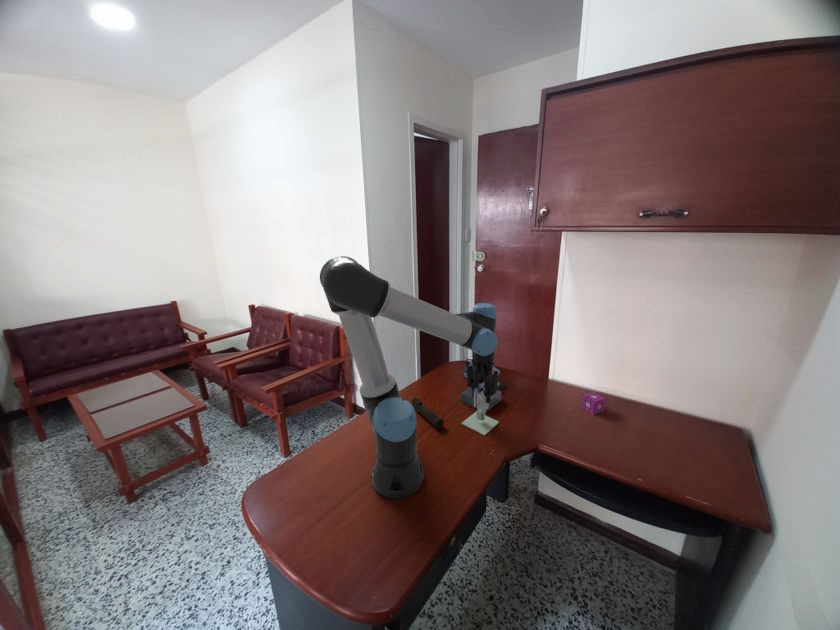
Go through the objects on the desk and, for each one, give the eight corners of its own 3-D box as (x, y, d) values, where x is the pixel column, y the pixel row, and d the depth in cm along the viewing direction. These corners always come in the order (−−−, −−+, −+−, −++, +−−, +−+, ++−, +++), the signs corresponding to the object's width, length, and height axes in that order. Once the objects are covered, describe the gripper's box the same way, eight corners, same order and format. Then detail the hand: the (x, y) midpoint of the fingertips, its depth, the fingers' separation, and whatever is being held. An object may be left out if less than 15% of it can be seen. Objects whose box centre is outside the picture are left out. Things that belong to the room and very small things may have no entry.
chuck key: (479, 423, 111) (480, 390, 107) (471, 420, 113) (472, 387, 109) (489, 415, 116) (491, 382, 112) (482, 411, 118) (483, 380, 114)
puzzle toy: (591, 404, 126) (593, 391, 124) (603, 411, 121) (605, 398, 119) (580, 407, 124) (582, 394, 122) (593, 415, 119) (595, 402, 117)
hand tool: (444, 427, 114) (444, 416, 112) (435, 431, 112) (435, 420, 110) (418, 403, 129) (417, 393, 128) (409, 406, 127) (409, 396, 126)
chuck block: (485, 412, 121) (486, 404, 120) (460, 401, 129) (460, 393, 128) (510, 392, 135) (510, 384, 134) (486, 383, 143) (486, 375, 142)
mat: (484, 435, 108) (484, 434, 108) (461, 424, 115) (461, 423, 115) (499, 422, 115) (499, 421, 115) (476, 412, 122) (476, 411, 122)
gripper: (510, 350, 104) (506, 411, 110) (469, 339, 114) (468, 395, 121) (498, 358, 98) (495, 421, 105) (457, 345, 109) (456, 403, 116)
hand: (481, 407), depth 113 cm, fingers closed on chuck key, 3 cm apart
